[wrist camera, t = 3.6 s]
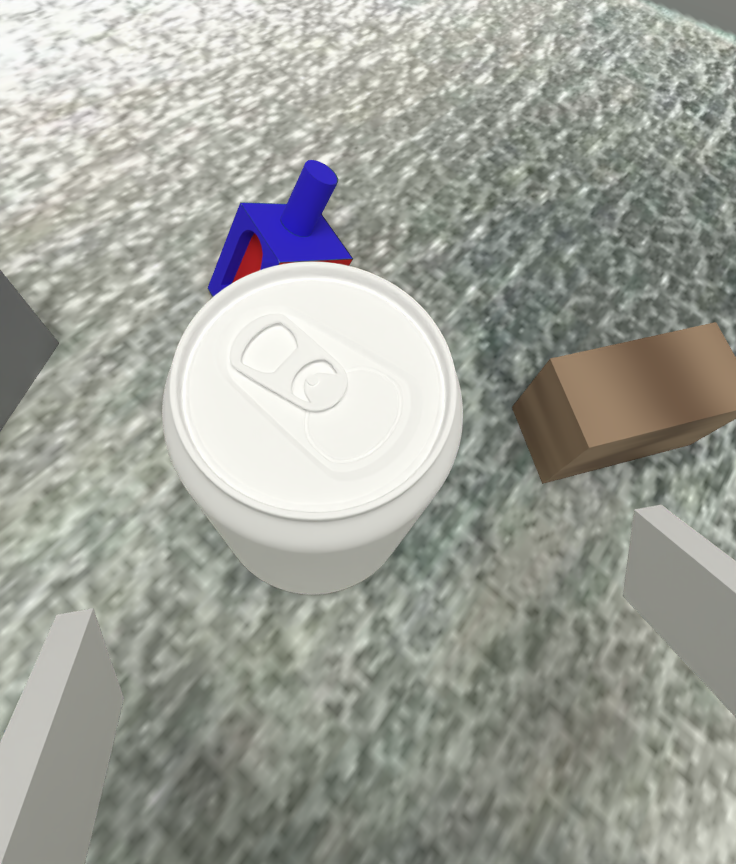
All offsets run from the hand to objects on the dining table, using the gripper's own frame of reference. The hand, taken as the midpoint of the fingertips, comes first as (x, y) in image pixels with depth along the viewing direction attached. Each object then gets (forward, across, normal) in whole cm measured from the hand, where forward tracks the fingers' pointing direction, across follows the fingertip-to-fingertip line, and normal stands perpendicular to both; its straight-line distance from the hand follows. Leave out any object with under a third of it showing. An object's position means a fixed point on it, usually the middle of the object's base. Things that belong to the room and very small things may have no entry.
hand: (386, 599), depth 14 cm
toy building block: (+19, -1, +4) cm, 20 cm away
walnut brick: (+12, +14, -3) cm, 18 cm away
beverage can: (+11, -1, -4) cm, 12 cm away
